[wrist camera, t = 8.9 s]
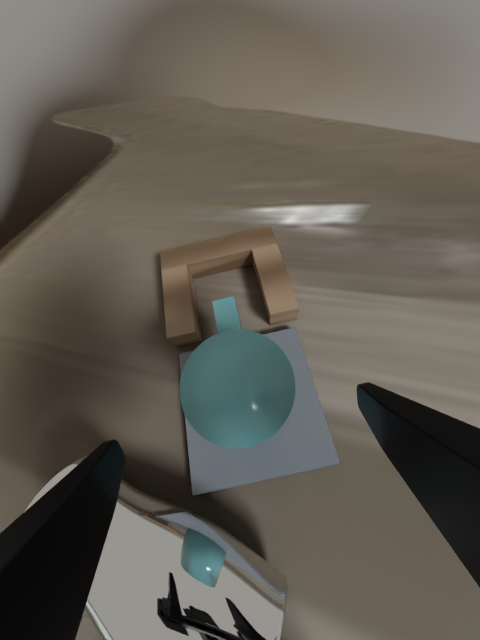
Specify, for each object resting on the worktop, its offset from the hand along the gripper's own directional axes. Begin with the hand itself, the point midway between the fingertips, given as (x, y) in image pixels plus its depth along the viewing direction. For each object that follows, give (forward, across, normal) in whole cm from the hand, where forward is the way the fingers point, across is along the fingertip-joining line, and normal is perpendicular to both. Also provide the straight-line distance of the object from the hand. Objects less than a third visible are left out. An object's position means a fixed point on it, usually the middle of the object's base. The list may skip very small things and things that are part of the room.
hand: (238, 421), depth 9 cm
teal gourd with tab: (+10, 0, +6) cm, 12 cm away
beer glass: (+6, +14, +8) cm, 17 cm away
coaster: (+10, 0, +8) cm, 13 cm away
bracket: (+18, 0, -1) cm, 18 cm away
